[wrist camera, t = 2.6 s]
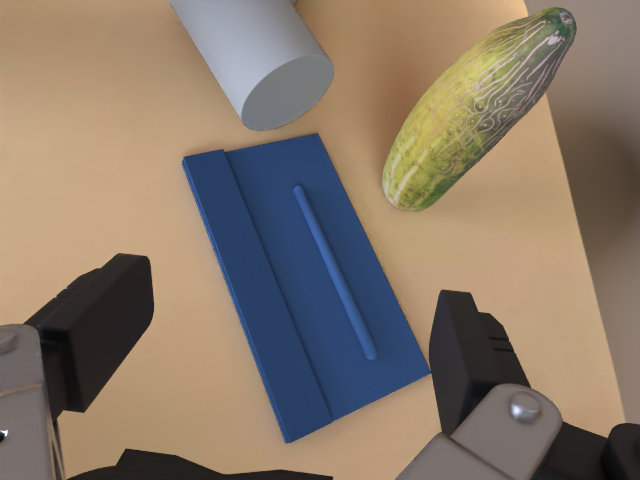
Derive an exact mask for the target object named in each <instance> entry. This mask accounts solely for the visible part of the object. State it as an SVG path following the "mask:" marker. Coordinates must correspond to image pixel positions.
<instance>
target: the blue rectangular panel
mask: <svg viewBox="0 0 640 480" xmlns="http://www.w3.org/2000/svg"><path fill="white" fill-rule="evenodd" d="M182 166H183V168H184V171H185V174H186V176H187V179H188V182H189V184H190V187H191V190H192V192H193V195H194V198H195V201H196V203H197V206H198V209H199V211H200V214H201V217H202V219H203V222H204V225H205V227H206V230H207V233H208V236H209V238H210V241H211V244H212V246H213V249H214V252H215V254H216V257H217V260H218V262H219V265H220V268H221V271H222V273H223V276H224V279H225V281H226V284H227V287H228V289H229V292H230V295H231V297H232V300H233V303H234V306H235V308H236V311H237V314H238V316H239V319H240V322H241V324H242V327H243V330H244V333H245V335H246V338H247V341H248V343H249V346H250V349H251V351H252V354H253V357H254V359H255V362H256V365H257V368H258V370H259V373H260V376H261V378H262V381H263V384H264V386H265V389H266V392H267V394H268V397H269V400H270V403H271V405H272V408H273V411H274V413H275V416H276V419H277V421H278V424H279V427H280V429H281V432H282V435H283V438H284V440H285V443H291V442H293V441H295V440H298V439H300V438H302V437H304V436H306V435H308V434H310V433H312V432H314V431H316V430H318V429H320V428H322V427H324V426H326V425H328V424H330V423H332V422H333V421H335V420H337V419H339V418H341V417H343V416H345V415H347V414H349V413H351V412H353V411H355V410H357V409H359V408H361V407H363V406H365V405H367V404H370V403H372V402H374V401H376V400H378V399H380V398H382V397H384V396H386V395H388V394H390V393H392V392H394V391H396V390H398V389H400V388H402V387H404V386H406V385H408V384H410V383H412V382H415V381H417V380H419V379H421V378H423V377H425V376H427V375H429V374H431V371H430V369H429V367H428V364H427V362H426V360H425V358H424V356H423V354H422V352H421V350H420V348H419V345H418V343H417V341H416V339H415V337H414V335H413V333H412V331H411V329H410V326H409V324H408V322H407V320H406V318H405V316H404V314H403V312H402V310H401V308H400V305H399V303H398V301H397V299H396V297H395V295H394V293H393V291H392V289H391V286H390V284H389V282H388V280H387V278H386V276H385V274H384V272H383V270H382V268H381V265H380V263H379V261H378V259H377V257H376V255H375V253H374V251H373V249H372V246H371V244H370V242H369V240H368V238H367V236H366V234H365V232H364V230H363V227H362V225H361V223H360V221H359V219H358V217H357V215H356V213H355V211H354V209H353V206H352V204H351V202H350V200H349V198H348V196H347V194H346V192H345V190H344V187H343V185H342V183H341V181H340V179H339V177H338V175H337V173H336V171H335V169H334V166H333V164H332V162H331V160H330V158H329V156H328V154H327V152H326V150H325V147H324V145H323V143H322V141H321V139H320V137H319V135H318V133H317V134H312V135H307V136H302V137H297V138H292V139H287V140H283V141H278V142H273V143H268V144H263V145H258V146H253V147H248V148H243V149H238V150H233V151H228V152H224V150H223V149H221V150H216V151H211V152H206V153H201V154H196V155H191V156H186V157H184V158H183V161H182Z"/></svg>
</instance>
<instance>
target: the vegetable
mask: <svg viewBox="0 0 640 480" xmlns="http://www.w3.org/2000/svg"><path fill="white" fill-rule="evenodd" d="M575 35H576V22H575V20H574V17H573V16H572V14H571V13H570V12H569V11H567V10H566V9H563V8H557V7H555V8H549V9H545V10H543V11H540V12H538V13H536V14H534V15H532V16H529V17H526V18H523V19H519V20H516V21H513V22H511V23H508V24H506V25H503V26H501V27H498V28H497V29H495V30H494V31H492V32H491V33H489V34H488V35H487V36H486V37H484V38H483V39H482V40H480V41H479V42H478V43H476V44H475V45H474V46H473V47H472V48H471V49H469V50H468V51H467V52H466V53H465V54H464V55H463V56H462V57H461V58H460V59H458V60H457V61H456V62H455V63H454V64H453V65H451V66H450V67H449V68H448V69H447V70H446V71H445V72H444V73H443V74H442V75H441V76H440V77H439V78H438V79H437V80H436V81H435V82H434V83H433V84H432V86H431V87H430V88H429V89H428V90H427V91H426V92H425V93H424V94H423V95H422V97H421V98H420V100H419V101H418V102H417V104H416V105H415V107H414V108H413V110H412V111H411V113H410V114H409V116H408V117H407V119H406V121H405V122H404V124H403V126H402V128H401V130H400V131H399V133H398V135H397V137H396V139H395V142H394V144H393V145H392V148H391V150H390V153H389V155H388V158H387V161H386V164H385V166H384V170H383V177H382V185H383V191H384V193H385V196H386V197H387V199H388V200H389V202H390V203H391V204H392V205H393V206H394V207H396V208H398V209H400V210H404V211H409V212H419V211H421V210H424V209H426V208H427V207H429V206H431V205H432V204H433V203H435V202H436V201H437V200H438V199H439V198H440V197H442V196H443V195H444V194H445V193H446V192H447V191H448V190H449V189H450V188H451V187H452V186H453V185H454V184H455V183H456V182H457V181H458V180H459V179H460V178H461V177H462V176H463V175H464V174H465V173H466V172H467V171H468V170H469V169H471V168H472V167H473V166H474V165H475V164H476V163H477V162H479V161H480V159H481V158H482V157H483V156H484V155H485V154H486V153H487V152H489V151H490V150H491V149H492V148H493V147H494V146H495V145H496V144H497V143H498V142H499V141H500V140H501V139H502V138H503V137H504V136H505V135H506V134H507V132H508V131H509V130H510V129H511V128H512V127H513V126H514V125H515V124H516V123H517V122H518V121H519V120H520V119H521V118H522V117H523V116H524V115H525V114H527V113H528V112H529V111H530V109H531V108H532V107H533V106H534V105H535V104H536V103H537V102H538V101H539V100H540V98H541V97H542V96H543V95H544V93H545V92H546V90H547V89H548V87H549V85H550V83H551V81H552V80H553V78H554V76H555V74H556V72H557V70H558V68H559V66H560V64H561V62H562V60H563V58H564V56H565V54H566V53H567V51H568V49H569V48H570V46H571V45H572V43H573V41H574V38H575Z"/></svg>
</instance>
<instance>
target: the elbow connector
mask: <svg viewBox="0 0 640 480" xmlns="http://www.w3.org/2000/svg"><path fill="white" fill-rule="evenodd" d="M297 1H298V0H168V2H169V3H170V5H171V7H172V8H173V10H174V11H175V13H176V15H177V16H178V18H179V20H180V21H181V23H182V24H183V26H184V28H185V29H186V31H187V33H188V34H189V36H190V37H191V39H192V41H193V42H194V44H195V46H196V47H197V49H198V51H199V52H200V54H201V55H202V57H203V59H204V60H205V62H206V64H207V65H208V67H209V68H210V70H211V72H212V73H213V75H214V77H215V78H216V80H217V81H218V83H219V85H220V86H221V88H222V90H223V91H224V93H225V94H226V96H227V98H228V99H229V101H230V103H231V104H232V106H233V107H234V109H235V111H236V112H237V114H238V116H239V117H240V119H241V121H242V122H243V124H244V125H245V126H246V127H248V128H249V129H252V130H256V131H265V130H271V129H275V128H278V127H281V126H283V125H286V124H288V123H290V122H292V121H294V120H295V119H297V118H299V117H300V116H302V115H303V114H304V113H306V112H307V111H308V110H309V109H311V108H312V107H313V106H314V105H315V104H316V103H317V102H318V101H319V100H320V99H321V98H322V96H323V95H324V94H325V92H326V91H327V89H328V88H329V86H330V84H331V82H332V79H333V75H334V67H333V64H332V62H331V60H330V59H329V57H328V56H327V54H326V53H325V51H324V50H323V48H322V47H321V46H320V44H319V43H318V41H317V40H316V38H315V37H314V35H313V34H312V32H311V31H310V30H309V28H308V27H307V25H306V24H305V22H304V21H303V19H302V18H301V16H300V15H299V14H298V12H297V11H296V9H295V8H294V6H293V5H294V4H295V3H296V2H297Z"/></svg>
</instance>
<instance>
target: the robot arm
mask: <svg viewBox="0 0 640 480" xmlns="http://www.w3.org/2000/svg"><path fill="white" fill-rule="evenodd" d="M153 313H154V298H153V287H152V276H151V265H150V261H149V259H148V257H147V256H141V255H132V254H123V253H118V254H117V255H115V256H114V257H113V258H112V259H111V260H110V261H108V262H107V263H106V264H105V265H104V266H103V267H102V268H100V269H99V268H97V269H94V270H92V271H90V272H88V273H86V274H83V275H81V276H79V277H78V278H77V279H76V280H74V281H73V282H72V283H71V284H70V285H68V286H67V289H64V290H63V291H61V292H60V293H59V294H58V295H57V297H56V298H53V299H52V300H51V301H49V302H48V303H47V304H46V305H45V306H44V307H42V308H41V309H40V310H39V311H38V312H36V313H35V314H34V315H33V316H32V317H31V318H29V319H28V320H27V321H26V322H25V323H23V324H8V325H2V326H0V480H66V473H65V466H64V459H63V452H62V445H61V438H60V430H59V425H58V420H57V418H58V416H59V415H60V414H61V413H62V411H63V410H66V411H74V412H82V413H84V412H85V411H86V410H87V408H88V407H89V406H90V404H91V403H92V402H93V400H94V399H95V398H96V396H97V395H98V394H99V392H100V391H101V390H102V388H103V387H104V386H105V384H106V383H107V382H108V380H109V379H110V378H111V376H112V375H113V374H114V372H115V371H116V370H117V368H118V367H119V366H120V364H121V363H122V362H123V360H124V359H125V358H126V356H127V355H128V354H129V352H130V351H131V350H132V348H133V347H134V346H135V344H136V343H137V342H138V340H139V339H140V338H141V336H142V335H143V334H144V332H145V331H146V329H147V328H148V327H149V325H150V323H151V320H152V317H153ZM429 363H430V368H431V374H432V379H433V385H434V390H435V396H436V401H437V406H438V412H439V417H440V423H441V428H442V432H440V433H438V434H437V435H436V436H435V437H434V438H433V439H432V440H431V441H430V442H429V443H428V444H427V445H426V446H425V447H424V448H423V450H422V451H421V452H420V453H419V454H418V455H417V456H416V457H415V458H414V459H413V460H412V461H411V463H410V464H409V465H408V466H407V467H406V468H405V469H404V470H403V471H402V472H401V473H400V475H399V476H398V477H397V478H396V479H395V480H640V425H639V424H632V423H623V424H619V425H616V426H615V427H614V428H612V430H611V432H610V434H609V436H608V438H606V437H603V436H600V435H597V434H594V433H592V432H589V431H586V430H583V429H580V428H577V427H575V426H572V425H570V424H568V423H566V422H564V421H562V416H561V413H560V411H559V410H558V408H557V407H556V406H555V404H554V403H553V402H552V401H551V400H549V399H548V398H547V397H546V396H544V395H543V394H541V393H539V392H538V391H536V390H534V389H531V386H530V384H529V382H528V380H527V378H526V376H525V373H524V371H523V369H522V367H521V365H520V362H519V360H518V358H517V356H516V354H515V353H514V349H513V347H512V345H511V343H510V342H509V338H508V336H507V334H506V332H505V329H504V327H503V325H502V324H500V323H499V322H498V321H497V320H496V319H495V318H494V317H493V316H492V315H491V314H490V313H482V312H478V310H477V307H476V305H475V302H474V300H473V297H472V295H471V293H469V292H460V291H451V290H441V292H440V294H439V297H438V302H437V307H436V312H435V316H434V321H433V326H432V331H431V336H430V342H429ZM67 480H333V477H332V476H325V475H317V474H310V473H303V472H295V471H288V470H271V471H260V472H249V473H239V474H221V473H218V472H216V471H213V470H211V469H208V468H206V467H203V466H201V465H198V464H196V463H193V462H191V461H189V460H186V459H184V458H181V457H179V456H176V455H170V454H163V453H155V452H148V451H141V450H133V449H125V451H124V452H123V454H122V456H121V457H120V459H119V461H118V463H117V464H116V466H109V467H104V468H99V469H95V470H91V471H88V472H84V473H81V474H79V475H76V476H74V477H71V478H69V479H67Z"/></svg>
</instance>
